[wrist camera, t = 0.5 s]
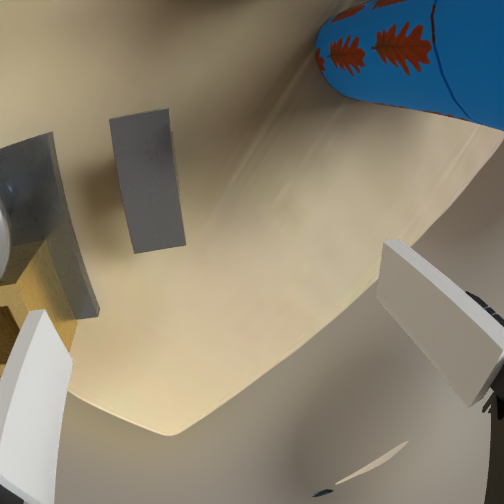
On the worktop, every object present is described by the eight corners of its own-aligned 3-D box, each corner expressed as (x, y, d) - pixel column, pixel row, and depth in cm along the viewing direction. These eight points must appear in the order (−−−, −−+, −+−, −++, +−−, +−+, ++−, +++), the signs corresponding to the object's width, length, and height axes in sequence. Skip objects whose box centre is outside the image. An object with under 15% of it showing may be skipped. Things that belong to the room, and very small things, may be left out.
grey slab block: (128, 113, 26) (109, 119, 18) (169, 106, 27) (168, 108, 19) (143, 210, 31) (134, 253, 23) (181, 204, 32) (186, 245, 24)
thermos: (323, 107, 30) (551, 168, 9) (303, 12, 25) (519, -57, 4) (402, 97, 31) (598, 149, 10) (387, 13, 26) (585, 2, 5)
